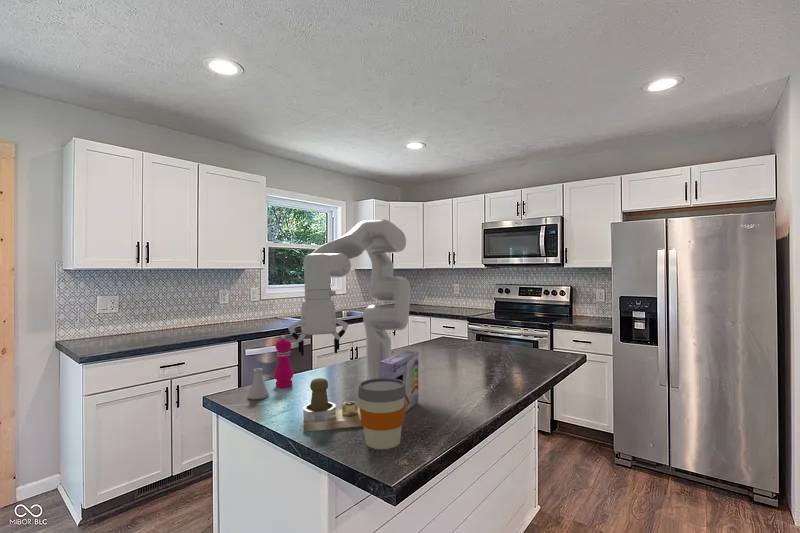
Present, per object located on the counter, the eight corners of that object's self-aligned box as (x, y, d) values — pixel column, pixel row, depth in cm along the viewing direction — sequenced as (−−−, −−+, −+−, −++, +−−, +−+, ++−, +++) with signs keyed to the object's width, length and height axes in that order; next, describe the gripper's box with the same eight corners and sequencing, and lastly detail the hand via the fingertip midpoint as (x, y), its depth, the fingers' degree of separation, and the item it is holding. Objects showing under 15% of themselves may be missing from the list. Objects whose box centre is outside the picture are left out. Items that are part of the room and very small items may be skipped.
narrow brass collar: (357, 410, 123) (357, 400, 123) (359, 416, 119) (358, 405, 119) (341, 412, 122) (341, 401, 122) (342, 417, 118) (342, 406, 118)
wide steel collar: (334, 410, 124) (334, 400, 124) (336, 420, 115) (336, 410, 115) (303, 412, 122) (303, 403, 122) (303, 424, 113) (303, 413, 113)
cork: (333, 414, 121) (333, 377, 121) (323, 421, 115) (323, 382, 115) (315, 412, 123) (315, 375, 123) (305, 419, 117) (304, 381, 117)
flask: (262, 400, 141) (262, 372, 141) (243, 399, 143) (243, 371, 143) (272, 394, 148) (272, 367, 148) (254, 393, 150) (254, 366, 150)
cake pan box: (391, 423, 118) (390, 362, 118) (376, 420, 121) (375, 361, 121) (420, 403, 135) (419, 350, 135) (407, 401, 137) (406, 349, 138)
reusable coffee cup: (369, 430, 113) (368, 376, 113) (412, 434, 110) (411, 379, 110) (351, 449, 101) (350, 389, 101) (399, 455, 98) (397, 392, 98)
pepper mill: (283, 389, 154) (282, 337, 154) (270, 387, 158) (269, 335, 158) (297, 384, 160) (296, 334, 160) (284, 382, 164) (283, 333, 164)
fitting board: (363, 413, 126) (363, 407, 126) (367, 425, 117) (367, 418, 117) (304, 419, 123) (304, 412, 123) (303, 431, 113) (303, 424, 113)
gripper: (346, 293, 125) (347, 349, 125) (288, 295, 121) (289, 353, 121) (348, 295, 117) (349, 354, 117) (286, 297, 114) (288, 358, 114)
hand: (319, 353), depth 119 cm, fingers open, 9 cm apart
